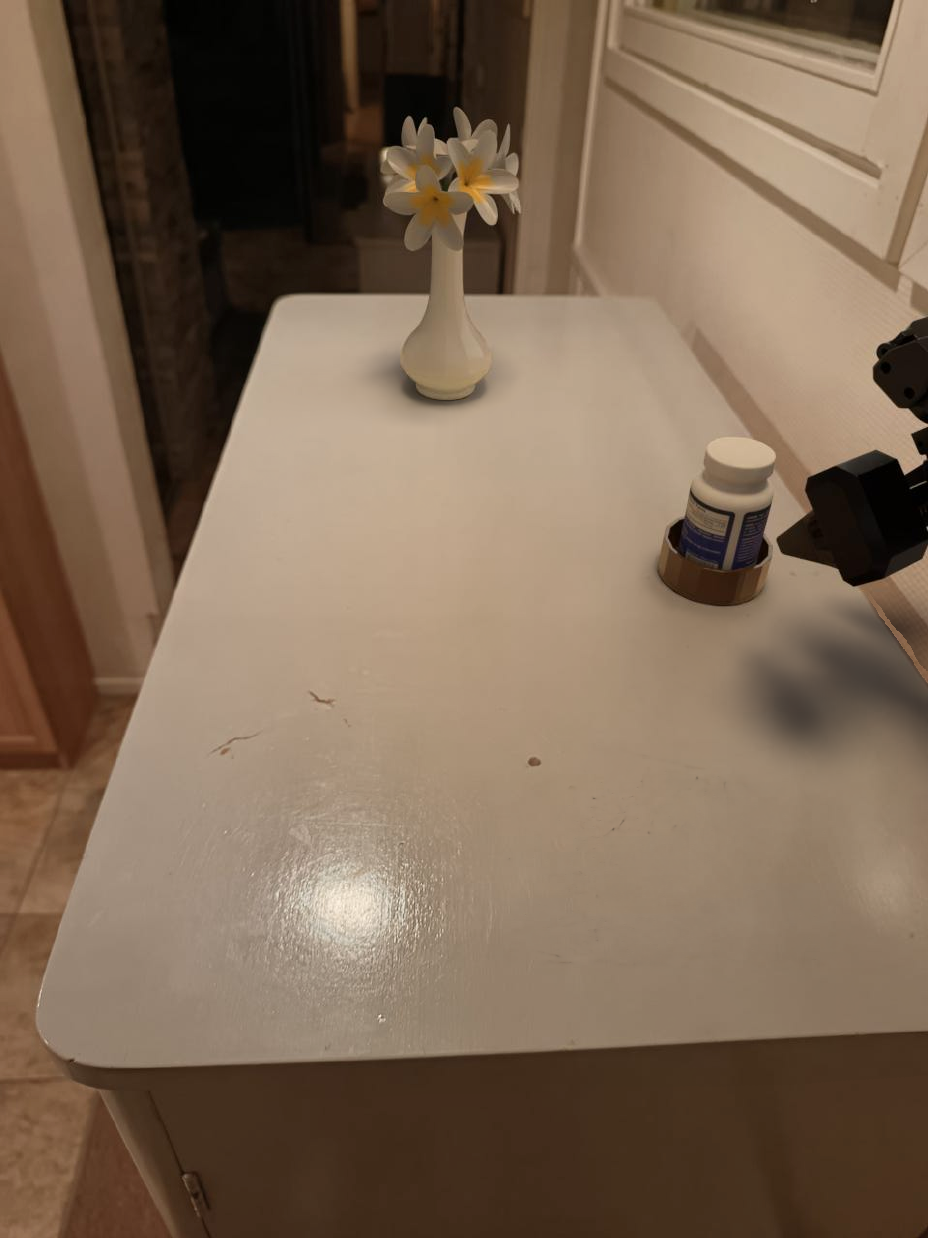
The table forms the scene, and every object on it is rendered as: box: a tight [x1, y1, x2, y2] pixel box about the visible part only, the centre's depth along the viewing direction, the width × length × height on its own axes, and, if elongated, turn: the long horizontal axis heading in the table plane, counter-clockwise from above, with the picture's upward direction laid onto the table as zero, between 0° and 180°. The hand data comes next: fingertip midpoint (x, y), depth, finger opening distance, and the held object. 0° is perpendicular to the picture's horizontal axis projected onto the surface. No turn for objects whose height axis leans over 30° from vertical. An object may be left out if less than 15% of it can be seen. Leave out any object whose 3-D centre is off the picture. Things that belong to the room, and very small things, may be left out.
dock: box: [657, 515, 774, 606], centre depth 66 cm, size 8×8×3 cm
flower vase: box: [380, 106, 522, 401], centre depth 84 cm, size 13×18×25 cm
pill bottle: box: [678, 436, 777, 570], centre depth 63 cm, size 6×6×10 cm
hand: (828, 524), depth 56 cm, fingers open, 9 cm apart
